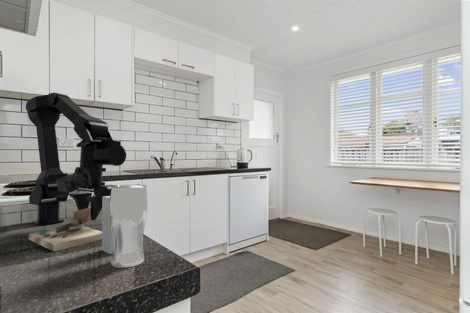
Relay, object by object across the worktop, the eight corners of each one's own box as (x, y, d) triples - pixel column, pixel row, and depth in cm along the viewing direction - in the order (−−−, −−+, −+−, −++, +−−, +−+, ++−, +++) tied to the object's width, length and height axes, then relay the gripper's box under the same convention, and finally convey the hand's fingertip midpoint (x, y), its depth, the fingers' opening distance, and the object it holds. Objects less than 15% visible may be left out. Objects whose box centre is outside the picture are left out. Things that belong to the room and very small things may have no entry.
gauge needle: (65, 234, 62) (66, 218, 62) (48, 234, 63) (49, 217, 63) (98, 222, 75) (98, 208, 75) (83, 221, 75) (83, 207, 75)
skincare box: (127, 244, 62) (127, 193, 62) (136, 248, 59) (137, 195, 59) (100, 250, 57) (101, 195, 58) (109, 255, 55) (110, 198, 55)
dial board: (28, 239, 65) (28, 231, 65) (77, 229, 74) (77, 222, 74) (53, 251, 56) (54, 242, 56) (105, 238, 66) (105, 230, 66)
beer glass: (133, 271, 47) (134, 188, 47) (100, 267, 49) (101, 187, 49) (153, 257, 54) (154, 185, 54) (123, 254, 55) (124, 184, 56)
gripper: (40, 161, 70) (36, 220, 69) (89, 165, 62) (84, 230, 62) (79, 162, 80) (75, 213, 80) (125, 165, 73) (121, 221, 72)
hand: (87, 219), depth 73 cm, fingers open, 4 cm apart
